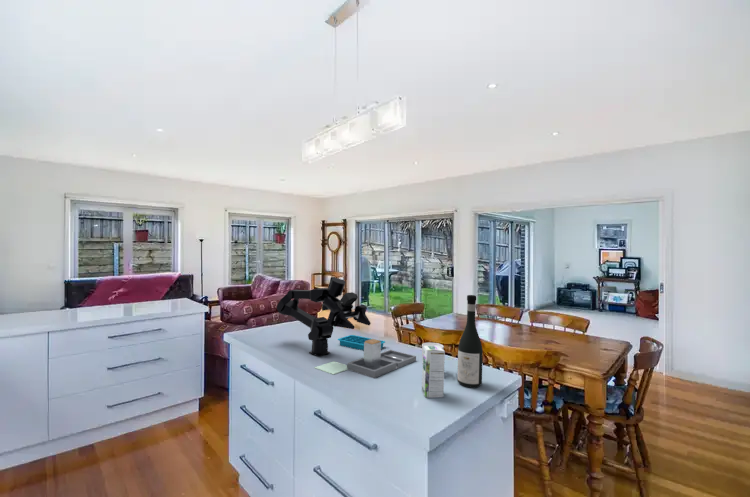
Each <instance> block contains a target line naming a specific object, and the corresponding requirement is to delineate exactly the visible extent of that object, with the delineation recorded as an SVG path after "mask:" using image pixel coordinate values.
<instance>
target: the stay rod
mask: <svg viewBox="0 0 750 497" xmlns="http://www.w3.org/2000/svg"><path fill="white" fill-rule="evenodd" d="M384 357H386V358H390V359H394V360H397V361H403V359H400V358H396V357H393V356H389V355H384Z"/></svg>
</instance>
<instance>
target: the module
mask: <svg viewBox="0 0 750 497" xmlns="http://www.w3.org/2000/svg"><path fill="white" fill-rule="evenodd" d="M381 351H382V348H381V342H380V339H376V338H371V339H370V340H367V341H365V342H364V350H363V358H364V367H366V368H369V369H372V370H376V369H378V368H380V361H381V353H382V352H381Z"/></svg>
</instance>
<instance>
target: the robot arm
mask: <svg viewBox="0 0 750 497" xmlns="http://www.w3.org/2000/svg"><path fill="white" fill-rule="evenodd" d="M346 284H347V283H346V281H345V280H344V279H342V278H339V277H336V276H331V277H330V278H329V284H328V287H320V288H313V289H309V290H308V289H304V290H303V289H291V290H288V291H287V293H286V294H285V295H284V296H283V297H282V298H280V300H279V302H278V303H277V305H276V310H277V312H278V314H280V315H283V316H289V317H292V318H294V319H295V320H297V321H298V322H300V323H301V324H303V325H305V326H306V327H308V328H310V331H309V332H308V334H307V338H308V340H309V341H311V350H310V351H308V353H309V354H311V355H314V356H317V357H321V356H324V355H328V354H330V353H331V351H329V343H328V342H329V340H328V339H331V337H332V335H333V332H334V327H335V328H336V327H337V328H344V329H351V330H355V328H356V326H355V325H354V324H353V323H352V322H351V321H350V320H349V319H351V318H353V320H354V321H356V322H357V323H359V324H363V325H365V326H370V325H371V324H372V322H371V320H369V318H368V317H367V314H366V312H367V310H368V309H367V308H368V307H367V306H366V305H364V304H360V305H357V306H355V309H354V310H353V308H354V305H353V304H354V303H355V302H356V301H358V294H357V293H355V292H351V291H350V292H345V293H344V294H343V291H344V288H345V286H346ZM342 294H343V295H342ZM338 297H341V298H340V299H339V298H338ZM300 299H301V300H310V301H311V302H314V303H322V304H321V310H322V312H323V311H329V314H328V317H324V316H321V317H315V316H313V315H311V314H310V313H308V312H307V311H304V310H303V309H301V308H300V307H299V303H300V301H299V300H300Z"/></svg>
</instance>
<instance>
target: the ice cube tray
mask: <svg viewBox="0 0 750 497" xmlns="http://www.w3.org/2000/svg"><path fill="white" fill-rule="evenodd" d="M370 339H372V337H371V338H370V337H366V336H361V335H356V334H350V335H346V336H343V337H339V338H337V341H339V345H340V346H341V347H345V346H346V348H350V347H351V349H354V348H356V349H355V350H359V349H360V350H362V351H364V342H365V341H367V340H370ZM379 340H380V339H379ZM380 342H381V349H383V348H384V344H385V343H386V341H385V340H380Z"/></svg>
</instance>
